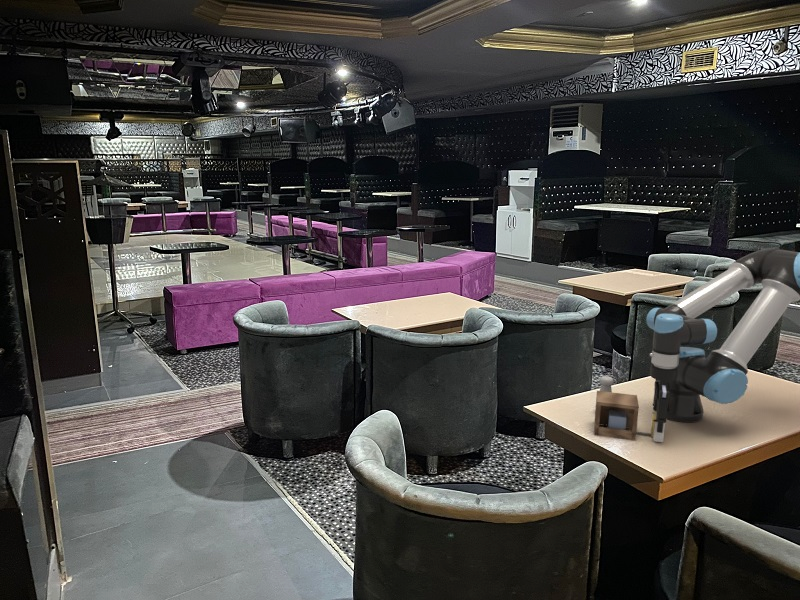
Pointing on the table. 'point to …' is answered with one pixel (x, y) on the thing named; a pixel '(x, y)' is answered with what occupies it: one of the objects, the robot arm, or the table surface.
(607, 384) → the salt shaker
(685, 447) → the table surface
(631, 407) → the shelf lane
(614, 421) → the tethered block
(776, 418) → the table surface
